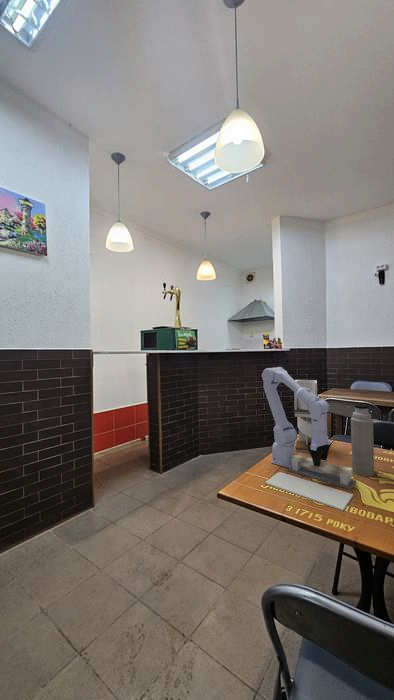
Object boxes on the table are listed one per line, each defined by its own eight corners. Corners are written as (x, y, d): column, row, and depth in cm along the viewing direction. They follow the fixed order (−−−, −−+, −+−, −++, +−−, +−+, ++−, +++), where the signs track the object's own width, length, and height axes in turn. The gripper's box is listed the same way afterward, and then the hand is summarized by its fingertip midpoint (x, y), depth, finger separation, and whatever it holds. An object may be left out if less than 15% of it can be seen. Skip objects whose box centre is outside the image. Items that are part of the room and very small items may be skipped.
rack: (288, 471, 119) (287, 460, 119) (295, 465, 125) (295, 455, 125) (350, 489, 102) (349, 477, 102) (355, 481, 108) (355, 470, 108)
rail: (291, 462, 120) (291, 455, 120) (294, 460, 122) (294, 453, 122) (350, 478, 104) (350, 470, 104) (352, 476, 107) (352, 468, 107)
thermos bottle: (374, 470, 117) (372, 404, 117) (374, 478, 111) (372, 408, 111) (352, 466, 122) (351, 402, 122) (351, 473, 115) (350, 406, 115)
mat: (265, 483, 108) (264, 482, 108) (279, 473, 117) (279, 471, 117) (343, 511, 89) (343, 509, 89) (353, 496, 98) (353, 494, 98)
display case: (297, 444, 151) (295, 379, 151) (318, 446, 147) (316, 380, 147) (295, 451, 141) (294, 382, 141) (318, 454, 137) (316, 383, 137)
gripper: (323, 436, 105) (324, 471, 105) (335, 427, 116) (336, 459, 116) (304, 432, 110) (305, 466, 110) (318, 424, 121) (319, 455, 121)
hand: (320, 463), depth 113 cm, fingers open, 7 cm apart
